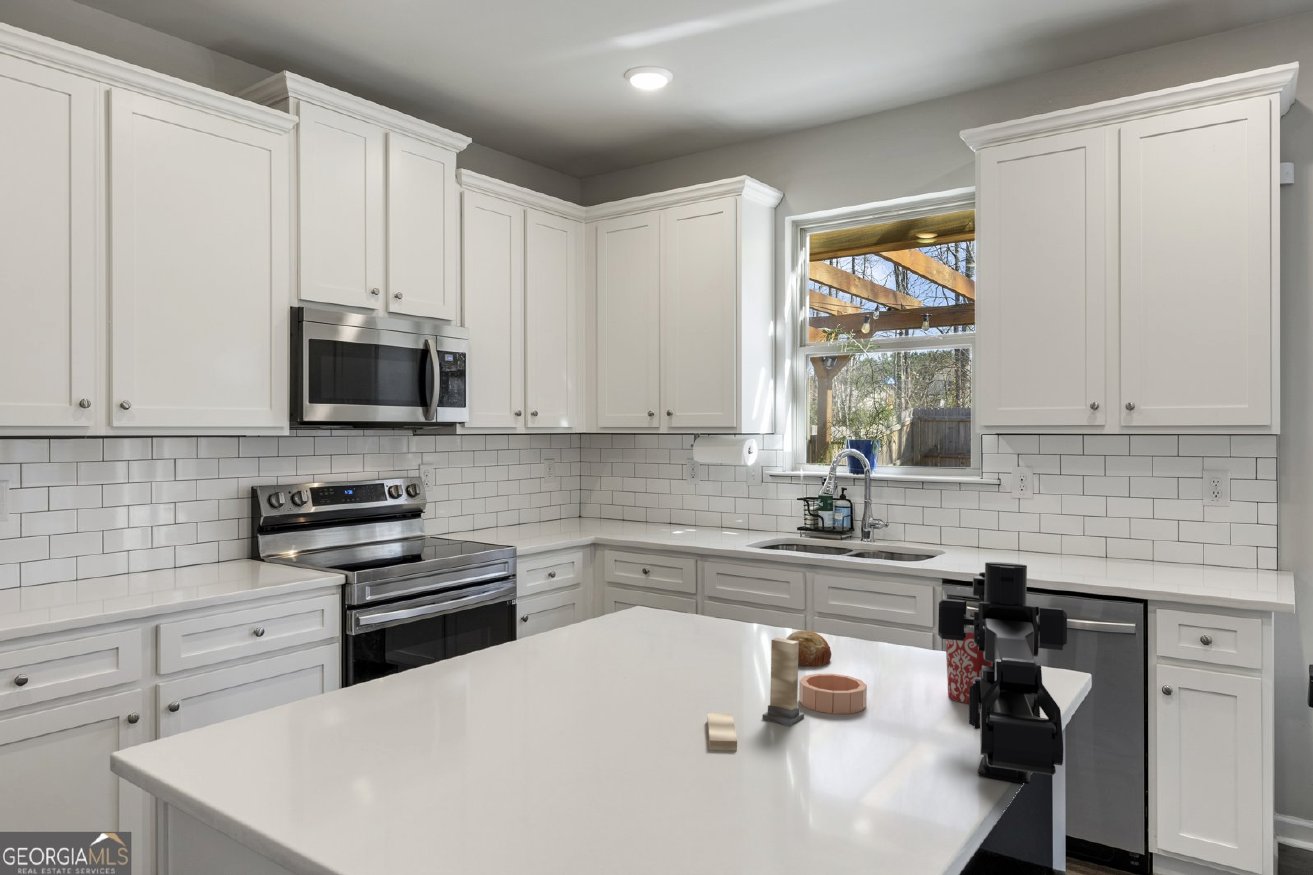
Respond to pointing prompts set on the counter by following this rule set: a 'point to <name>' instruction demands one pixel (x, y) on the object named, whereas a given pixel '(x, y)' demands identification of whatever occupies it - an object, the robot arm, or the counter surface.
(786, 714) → the wooden pillar
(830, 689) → the bowl
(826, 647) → the bread roll
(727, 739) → the light wooden flat block
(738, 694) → the counter surface
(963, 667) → the mug
